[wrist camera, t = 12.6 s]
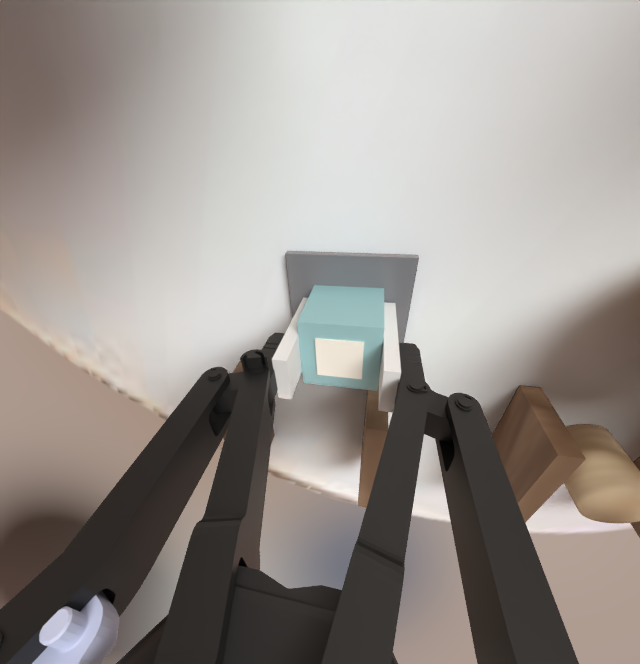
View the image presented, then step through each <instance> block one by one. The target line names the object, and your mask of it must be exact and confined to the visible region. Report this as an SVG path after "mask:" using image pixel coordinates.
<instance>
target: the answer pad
mask: <svg viewBox="0 0 640 664" xmlns="http://www.w3.org/2000/svg"><path fill="white" fill-rule="evenodd" d="M285 255H286V264H287V273H288V283H289V292H290V301H291V311H292V319H293V317H294V315H295V313H296V311H297V309H298V307H299V305H300V303H301V301H302V299H303V298H308V297H309V295H310V293H311V291H312V289H313V287H314V285H322V286H345V287H368V288H384V302H386V303H395V305H396V317H397V329H398V341H399V343H404V337H405V332H406V326H407V321H408V315H409V310H410V304H411V298H412V293H413V287H414V282H415V276H416V271H417V265H418V260H419V257H418V255H400V254H368V253H336V252H304V251H287V252H286V254H285Z"/></svg>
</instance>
